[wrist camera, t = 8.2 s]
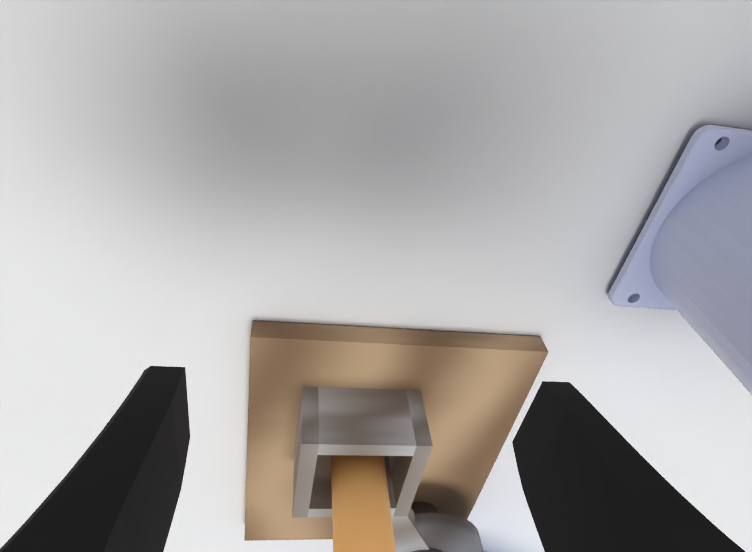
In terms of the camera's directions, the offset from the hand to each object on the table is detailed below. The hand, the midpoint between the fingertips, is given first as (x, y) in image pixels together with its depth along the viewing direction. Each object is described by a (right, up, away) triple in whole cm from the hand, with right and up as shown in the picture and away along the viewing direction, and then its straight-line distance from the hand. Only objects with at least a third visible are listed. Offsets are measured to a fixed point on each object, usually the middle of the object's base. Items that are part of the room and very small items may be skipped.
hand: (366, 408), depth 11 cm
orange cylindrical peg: (-1, -4, +14) cm, 15 cm away
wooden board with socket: (0, -6, +17) cm, 18 cm away
